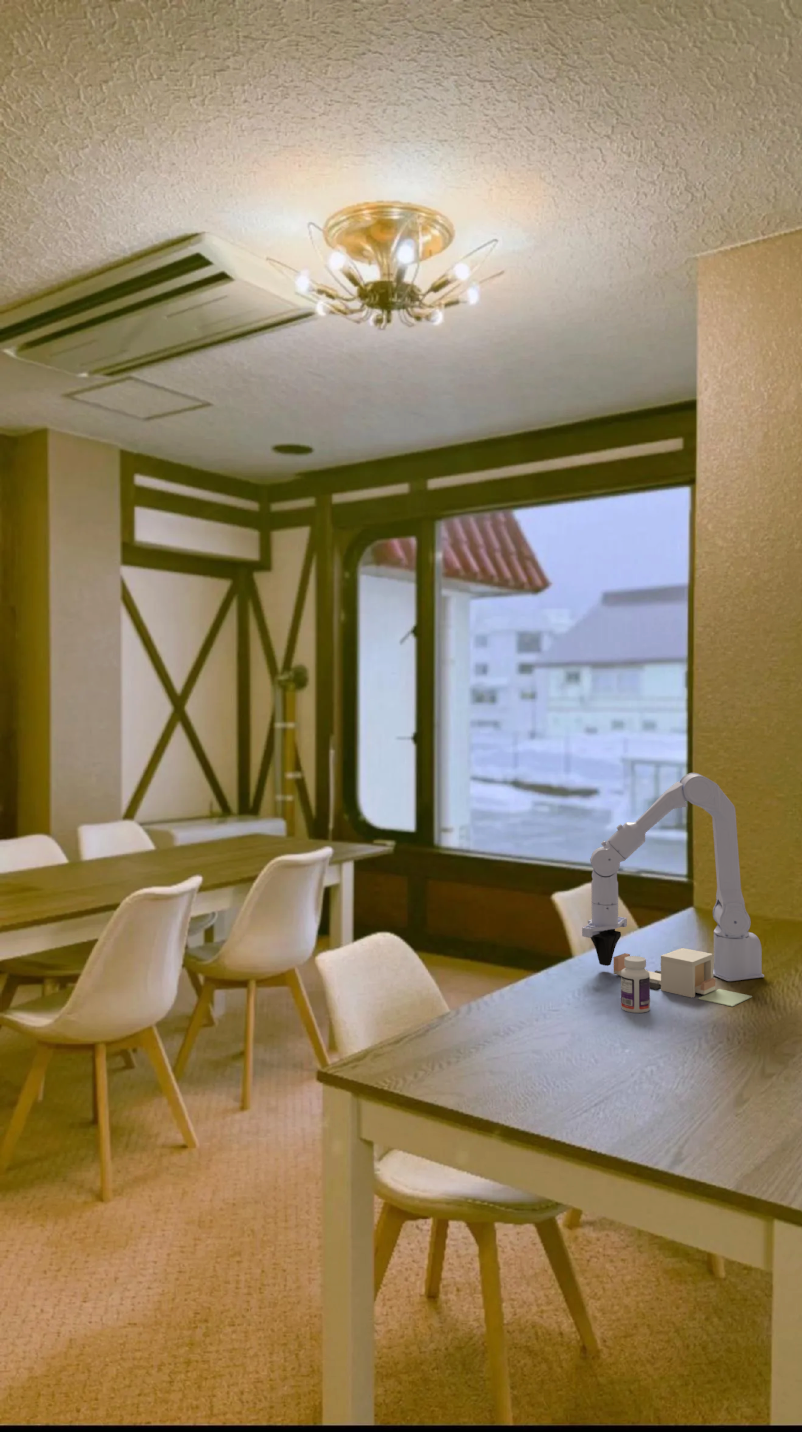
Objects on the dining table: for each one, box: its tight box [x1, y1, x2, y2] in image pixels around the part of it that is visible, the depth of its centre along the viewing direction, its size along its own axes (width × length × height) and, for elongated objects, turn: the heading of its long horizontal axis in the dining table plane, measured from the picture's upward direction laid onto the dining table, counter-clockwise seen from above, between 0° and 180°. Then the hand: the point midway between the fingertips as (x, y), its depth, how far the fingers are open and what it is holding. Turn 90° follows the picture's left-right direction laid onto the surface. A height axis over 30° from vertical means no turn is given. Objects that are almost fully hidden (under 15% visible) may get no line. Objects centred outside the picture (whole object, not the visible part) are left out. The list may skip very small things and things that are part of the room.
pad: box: [698, 988, 753, 1008], centre depth 189 cm, size 9×7×1 cm
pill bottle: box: [620, 955, 651, 1014], centre depth 183 cm, size 5×5×10 cm
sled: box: [613, 952, 717, 996], centre depth 199 cm, size 5×21×5 cm, turn 45°
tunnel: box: [660, 947, 714, 998], centre depth 195 cm, size 9×7×7 cm
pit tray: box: [650, 969, 661, 990], centre depth 200 cm, size 9×5×1 cm, turn 135°
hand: (605, 964), depth 209 cm, fingers closed
